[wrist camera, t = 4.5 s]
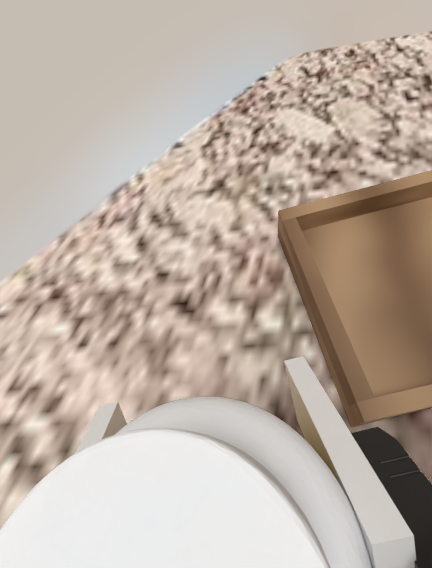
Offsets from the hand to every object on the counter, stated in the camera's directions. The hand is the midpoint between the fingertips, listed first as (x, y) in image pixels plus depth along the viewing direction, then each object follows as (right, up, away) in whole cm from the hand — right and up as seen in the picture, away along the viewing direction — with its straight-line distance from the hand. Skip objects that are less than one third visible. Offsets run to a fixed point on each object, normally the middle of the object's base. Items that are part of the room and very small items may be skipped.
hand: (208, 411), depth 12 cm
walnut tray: (+11, +5, +6) cm, 14 cm away
